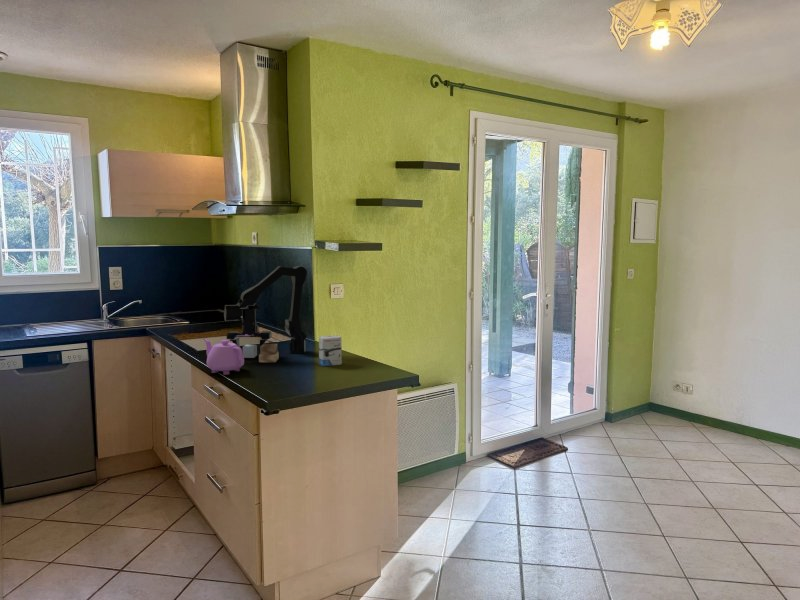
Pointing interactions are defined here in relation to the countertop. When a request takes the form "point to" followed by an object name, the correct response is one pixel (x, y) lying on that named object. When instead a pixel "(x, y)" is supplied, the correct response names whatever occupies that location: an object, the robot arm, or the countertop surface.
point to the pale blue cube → (249, 351)
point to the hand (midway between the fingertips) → (249, 354)
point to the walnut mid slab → (268, 349)
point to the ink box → (330, 350)
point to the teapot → (224, 357)
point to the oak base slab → (269, 357)
